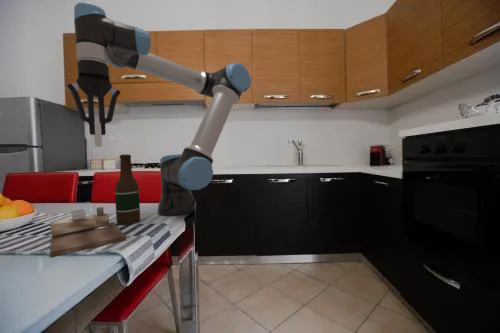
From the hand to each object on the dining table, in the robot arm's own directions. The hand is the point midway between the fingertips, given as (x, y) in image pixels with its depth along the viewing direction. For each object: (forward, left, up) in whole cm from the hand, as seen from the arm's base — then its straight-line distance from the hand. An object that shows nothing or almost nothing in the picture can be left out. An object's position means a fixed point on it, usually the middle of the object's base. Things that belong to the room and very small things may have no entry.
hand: (98, 146), depth 69 cm
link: (+5, -5, -24) cm, 25 cm away
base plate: (+4, 0, -26) cm, 27 cm away
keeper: (+2, -6, -25) cm, 26 cm away
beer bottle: (-9, -11, -27) cm, 30 cm away
